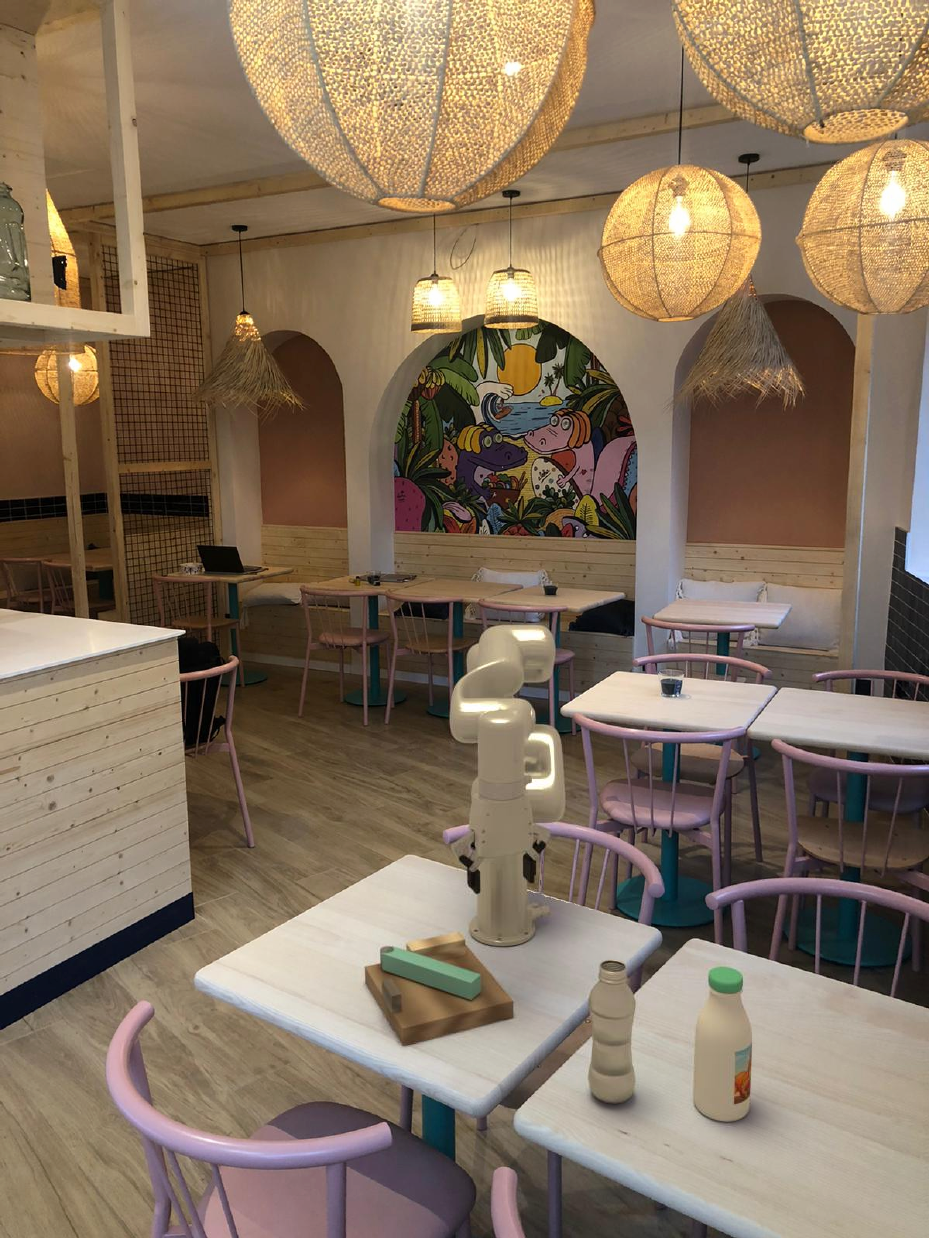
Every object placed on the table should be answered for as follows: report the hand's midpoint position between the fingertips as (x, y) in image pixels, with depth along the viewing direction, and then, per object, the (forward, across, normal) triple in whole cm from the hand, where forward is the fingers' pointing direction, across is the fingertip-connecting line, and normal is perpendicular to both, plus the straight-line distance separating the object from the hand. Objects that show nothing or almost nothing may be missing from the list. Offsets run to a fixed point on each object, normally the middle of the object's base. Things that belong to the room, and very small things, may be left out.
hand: (502, 885), depth 161 cm
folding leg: (+17, +12, -5) cm, 21 cm away
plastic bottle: (+20, -4, +29) cm, 36 cm away
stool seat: (+20, +11, -4) cm, 23 cm away
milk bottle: (+20, -17, +37) cm, 45 cm away
